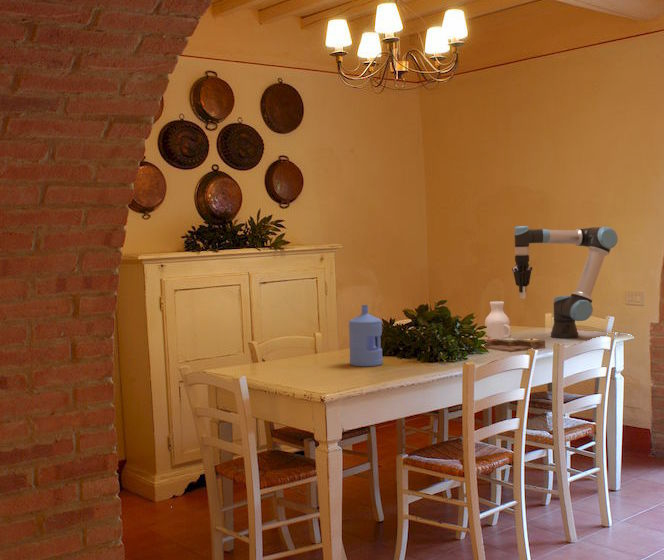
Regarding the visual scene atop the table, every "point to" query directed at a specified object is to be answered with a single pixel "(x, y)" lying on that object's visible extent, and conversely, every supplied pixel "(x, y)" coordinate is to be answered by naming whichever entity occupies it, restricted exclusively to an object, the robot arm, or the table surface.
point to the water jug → (365, 340)
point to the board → (514, 345)
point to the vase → (496, 316)
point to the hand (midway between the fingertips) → (522, 298)
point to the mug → (499, 330)
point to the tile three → (531, 340)
